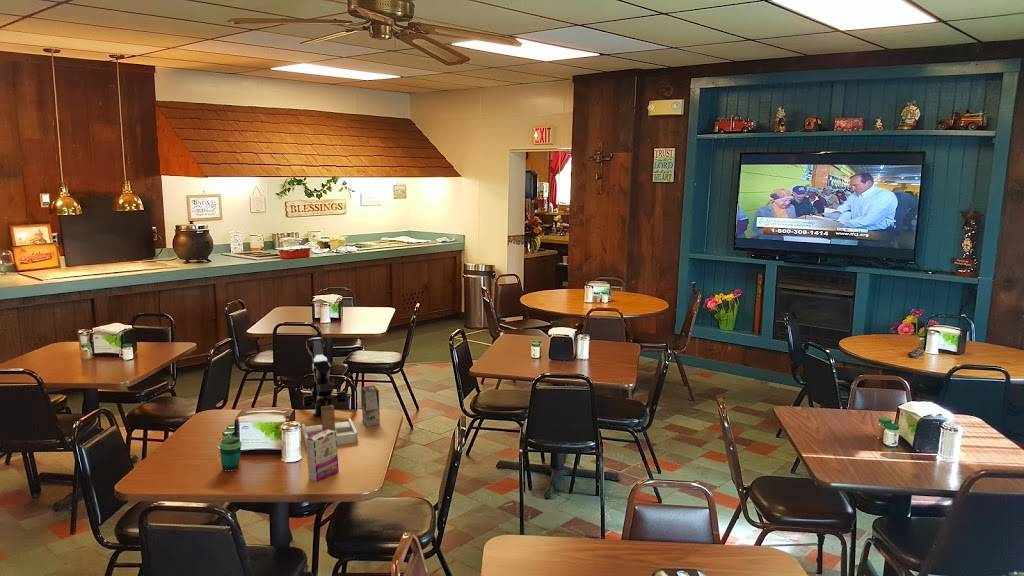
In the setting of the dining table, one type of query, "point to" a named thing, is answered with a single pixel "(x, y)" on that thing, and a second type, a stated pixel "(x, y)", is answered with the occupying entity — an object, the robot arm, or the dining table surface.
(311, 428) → the trap box
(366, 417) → the coffee box
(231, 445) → the cup
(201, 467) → the dining table surface
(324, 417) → the block
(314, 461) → the candy bar box
